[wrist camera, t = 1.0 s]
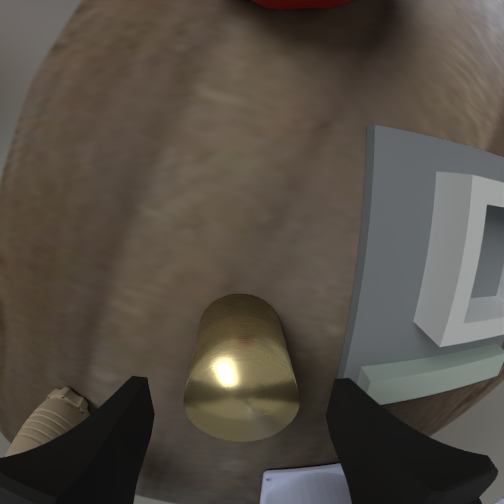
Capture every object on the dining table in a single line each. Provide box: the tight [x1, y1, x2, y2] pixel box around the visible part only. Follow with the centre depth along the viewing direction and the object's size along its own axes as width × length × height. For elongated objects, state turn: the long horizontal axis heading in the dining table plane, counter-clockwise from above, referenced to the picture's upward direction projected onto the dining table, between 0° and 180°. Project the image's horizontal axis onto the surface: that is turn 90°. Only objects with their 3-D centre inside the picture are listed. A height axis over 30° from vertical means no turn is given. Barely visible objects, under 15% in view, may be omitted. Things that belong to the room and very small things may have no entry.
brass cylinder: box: [184, 294, 300, 442], centre depth 14 cm, size 4×4×6 cm
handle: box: [5, 387, 90, 457], centre depth 10 cm, size 5×6×15 cm
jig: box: [337, 125, 504, 405], centre depth 14 cm, size 16×14×4 cm
